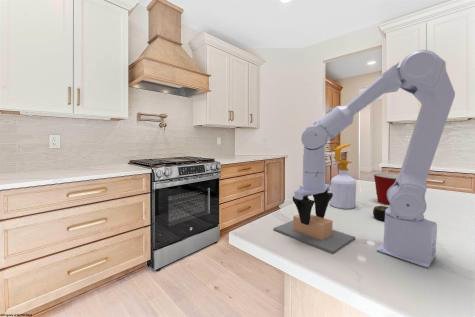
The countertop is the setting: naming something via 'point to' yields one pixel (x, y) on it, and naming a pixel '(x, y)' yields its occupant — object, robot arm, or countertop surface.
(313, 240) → the mat
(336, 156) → the soap bottle
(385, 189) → the plastic cup
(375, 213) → the tape measure
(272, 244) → the countertop surface
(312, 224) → the card case
